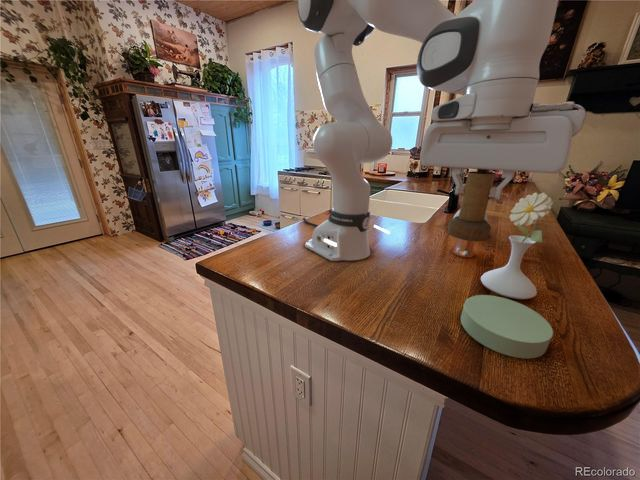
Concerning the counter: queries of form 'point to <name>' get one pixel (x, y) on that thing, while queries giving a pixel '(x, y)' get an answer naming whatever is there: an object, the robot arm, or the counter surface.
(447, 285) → the counter surface
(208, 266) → the counter surface
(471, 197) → the mortar and pestle
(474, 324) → the disc
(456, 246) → the beer glass
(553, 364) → the counter surface
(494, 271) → the flower in vase
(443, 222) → the counter surface
